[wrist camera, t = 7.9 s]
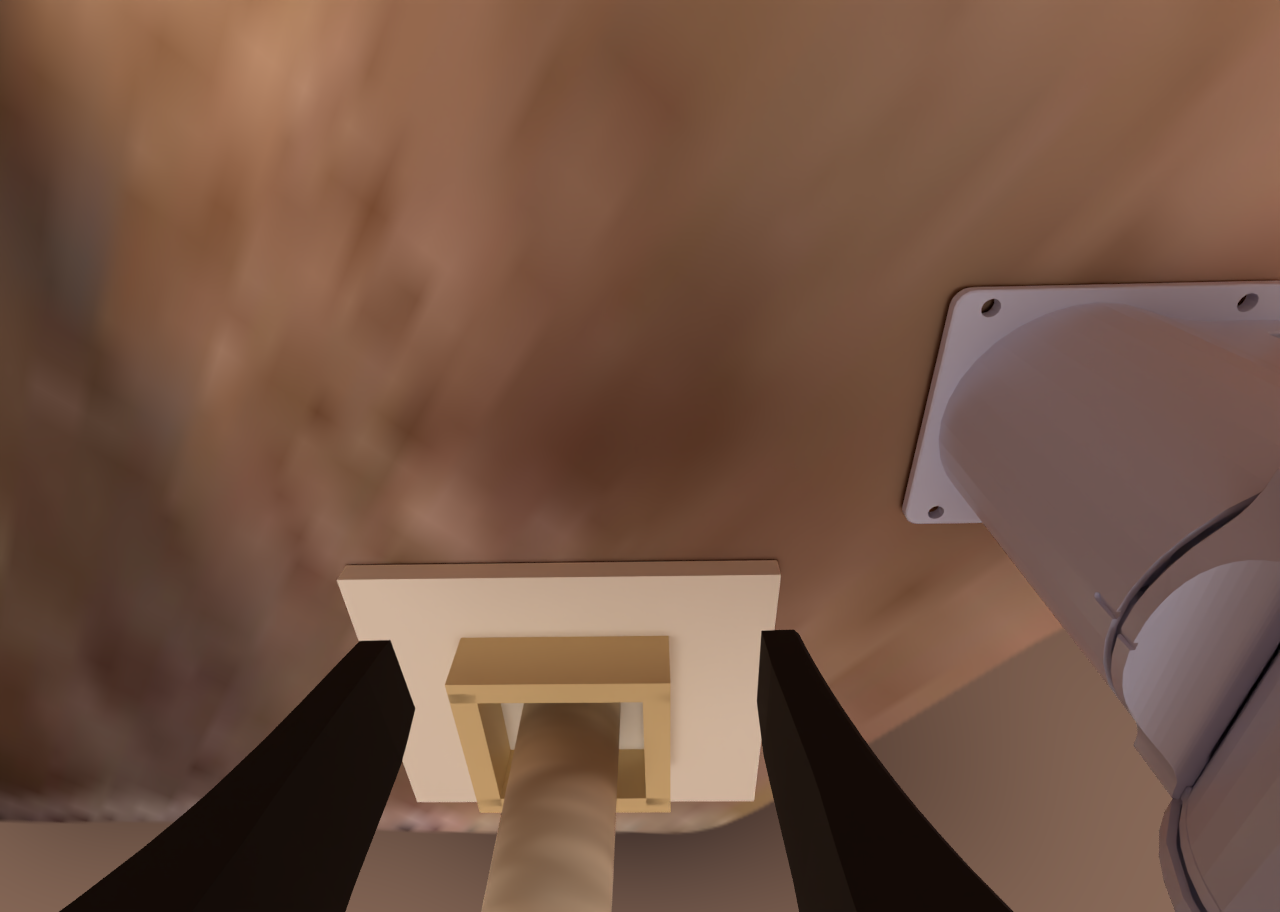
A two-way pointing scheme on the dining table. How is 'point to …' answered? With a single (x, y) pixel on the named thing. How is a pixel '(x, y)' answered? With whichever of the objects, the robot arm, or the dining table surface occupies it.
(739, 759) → the socket plate
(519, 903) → the birch peg
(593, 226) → the dining table surface
